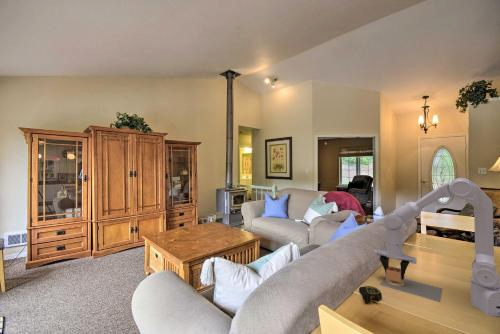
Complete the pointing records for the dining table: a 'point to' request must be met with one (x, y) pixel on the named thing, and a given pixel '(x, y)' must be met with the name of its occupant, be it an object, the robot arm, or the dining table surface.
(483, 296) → the robot arm
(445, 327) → the dining table surface
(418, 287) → the seat plate
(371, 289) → the tape measure
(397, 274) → the collar
